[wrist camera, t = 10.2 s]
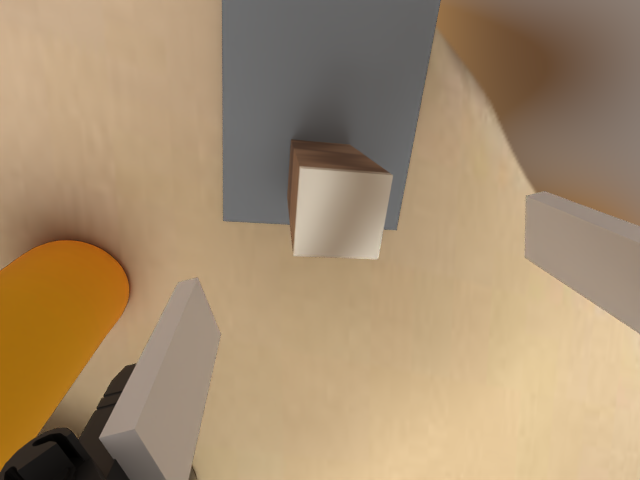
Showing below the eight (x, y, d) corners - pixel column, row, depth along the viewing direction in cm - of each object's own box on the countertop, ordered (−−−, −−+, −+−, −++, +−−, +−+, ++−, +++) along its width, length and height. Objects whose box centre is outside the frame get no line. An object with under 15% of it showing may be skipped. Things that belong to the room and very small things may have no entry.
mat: (224, 218, 32) (223, 221, 31) (222, -57, 24) (221, -60, 24) (394, 227, 34) (396, 230, 34) (441, -21, 27) (445, -23, 26)
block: (287, 197, 31) (293, 255, 20) (290, 139, 29) (300, 168, 18) (342, 201, 32) (378, 259, 21) (349, 144, 30) (393, 175, 19)
